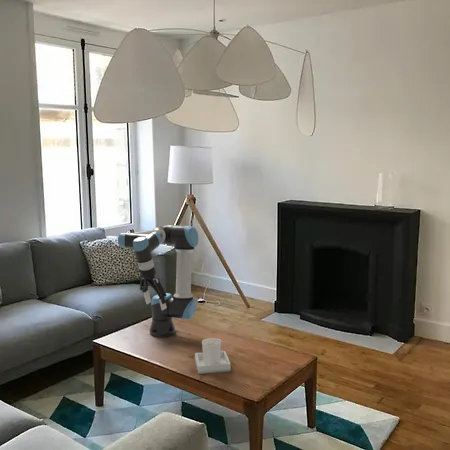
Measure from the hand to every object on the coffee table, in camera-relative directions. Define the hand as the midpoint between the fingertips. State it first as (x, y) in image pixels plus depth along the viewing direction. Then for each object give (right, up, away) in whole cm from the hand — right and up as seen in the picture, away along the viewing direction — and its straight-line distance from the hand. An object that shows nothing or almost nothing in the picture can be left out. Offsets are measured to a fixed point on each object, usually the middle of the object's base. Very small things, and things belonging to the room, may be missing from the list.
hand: (156, 306), depth 264 cm
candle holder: (+28, -30, +2) cm, 41 cm away
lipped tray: (+28, -31, +2) cm, 42 cm away
